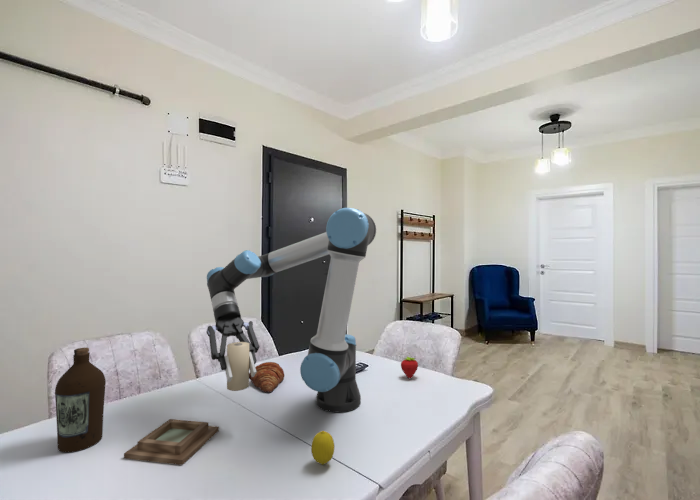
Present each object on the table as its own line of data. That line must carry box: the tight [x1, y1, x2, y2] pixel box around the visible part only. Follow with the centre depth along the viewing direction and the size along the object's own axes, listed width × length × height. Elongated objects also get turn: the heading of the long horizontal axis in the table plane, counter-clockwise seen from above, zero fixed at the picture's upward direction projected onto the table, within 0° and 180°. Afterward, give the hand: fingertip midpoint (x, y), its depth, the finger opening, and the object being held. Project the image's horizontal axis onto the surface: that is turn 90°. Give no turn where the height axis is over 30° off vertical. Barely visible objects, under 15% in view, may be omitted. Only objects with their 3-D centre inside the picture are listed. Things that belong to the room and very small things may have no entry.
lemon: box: [310, 430, 335, 465], centre depth 82 cm, size 6×6×8 cm
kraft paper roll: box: [226, 341, 250, 392], centre depth 98 cm, size 6×6×12 cm
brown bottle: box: [54, 347, 107, 454], centre depth 91 cm, size 11×11×25 cm
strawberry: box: [400, 354, 419, 379], centre depth 139 cm, size 6×8×10 cm
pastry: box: [249, 361, 285, 393], centre depth 134 cm, size 17×15×8 cm
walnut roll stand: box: [123, 418, 220, 466], centre depth 91 cm, size 16×16×3 cm
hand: (242, 376), depth 95 cm, fingers closed on kraft paper roll, 6 cm apart
